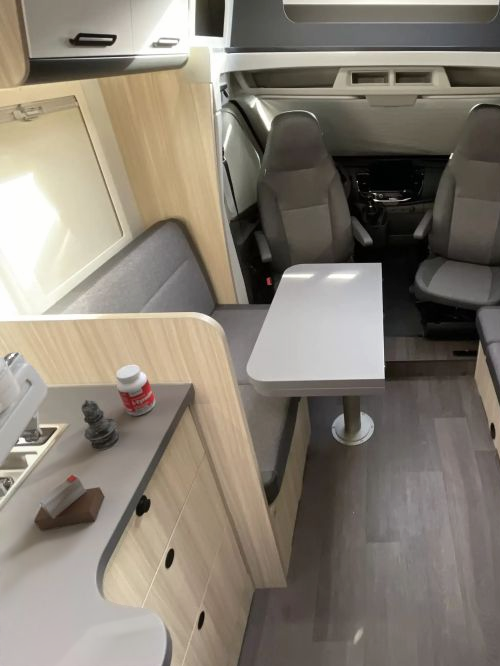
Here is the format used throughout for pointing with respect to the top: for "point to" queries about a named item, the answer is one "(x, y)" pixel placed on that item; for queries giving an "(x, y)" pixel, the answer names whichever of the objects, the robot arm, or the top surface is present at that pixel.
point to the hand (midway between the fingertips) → (19, 463)
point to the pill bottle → (135, 390)
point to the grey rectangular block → (62, 496)
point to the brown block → (74, 511)
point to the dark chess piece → (99, 427)
